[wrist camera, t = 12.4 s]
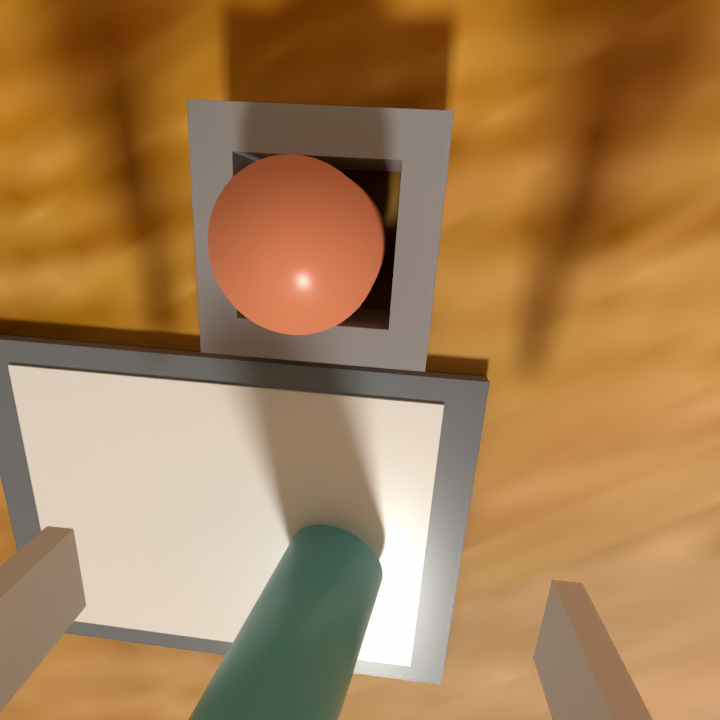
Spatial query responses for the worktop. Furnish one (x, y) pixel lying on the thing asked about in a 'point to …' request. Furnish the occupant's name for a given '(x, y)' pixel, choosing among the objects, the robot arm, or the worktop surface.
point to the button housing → (342, 151)
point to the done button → (295, 244)
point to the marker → (299, 634)
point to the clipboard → (239, 485)
